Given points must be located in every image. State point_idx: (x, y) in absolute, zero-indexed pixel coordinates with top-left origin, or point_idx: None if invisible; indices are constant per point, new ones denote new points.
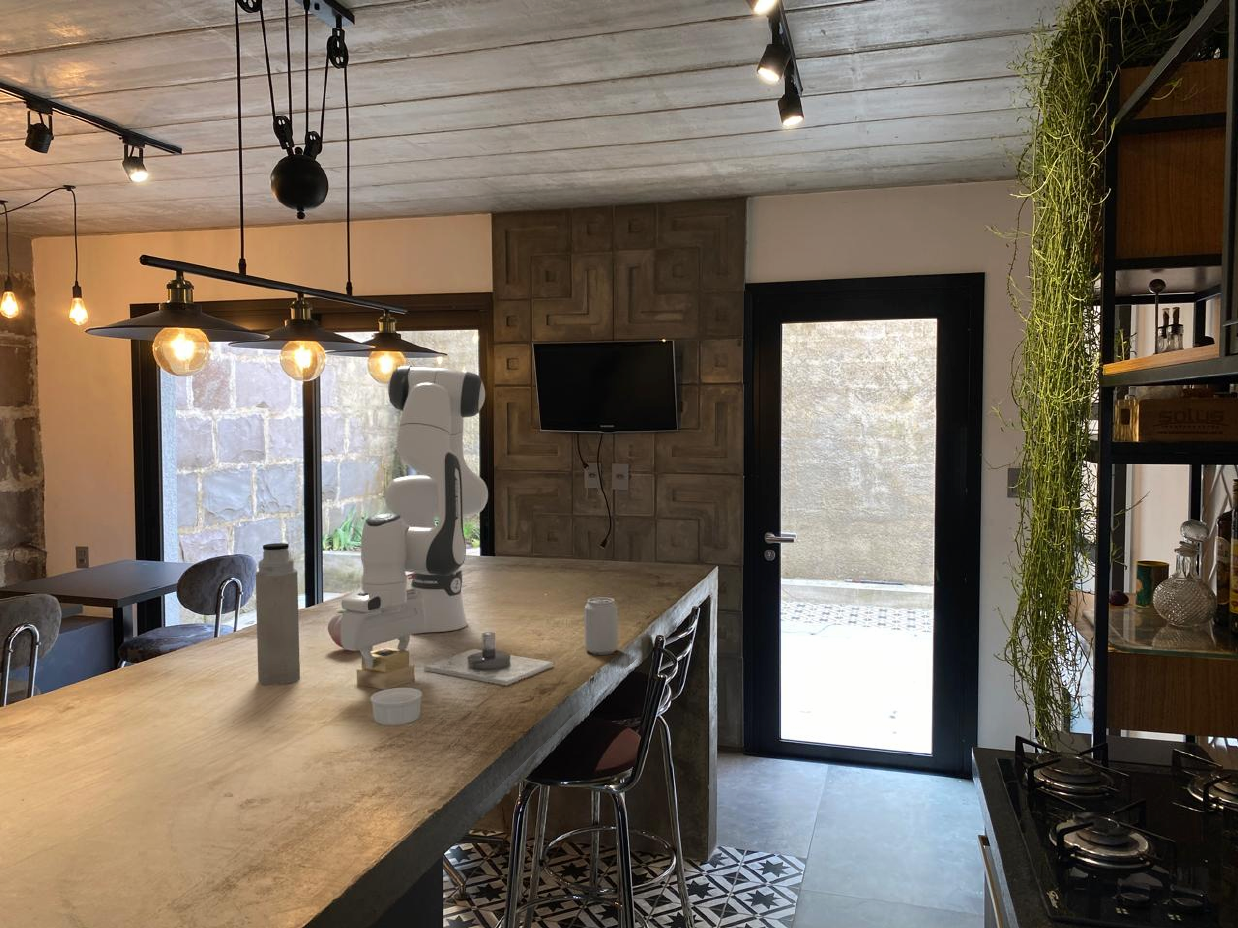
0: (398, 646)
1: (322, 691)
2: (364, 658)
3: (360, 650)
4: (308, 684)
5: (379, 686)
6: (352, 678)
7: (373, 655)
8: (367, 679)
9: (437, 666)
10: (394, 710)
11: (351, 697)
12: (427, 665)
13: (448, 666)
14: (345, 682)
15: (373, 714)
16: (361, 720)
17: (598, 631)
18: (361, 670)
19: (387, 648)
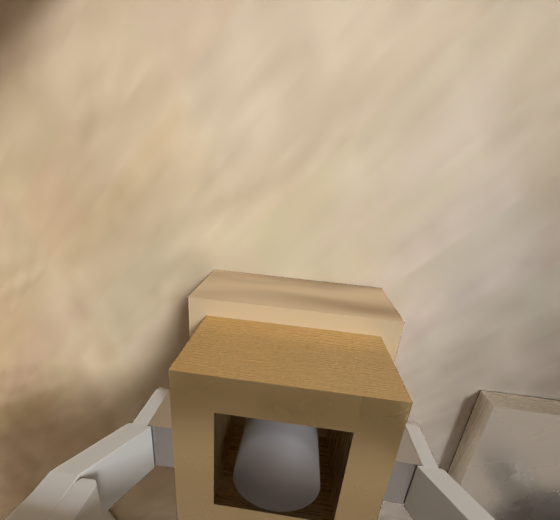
0: (430, 484)
1: (73, 213)
2: (127, 424)
3: (44, 481)
4: (90, 63)
5: None
6: (265, 194)
7: (186, 448)
8: None
9: (496, 451)
10: None
11: (99, 351)
12: (502, 414)
13: (506, 482)
14: (205, 210)
15: (13, 510)
16: (11, 471)
17: None
18: (189, 327)
19: (371, 435)
